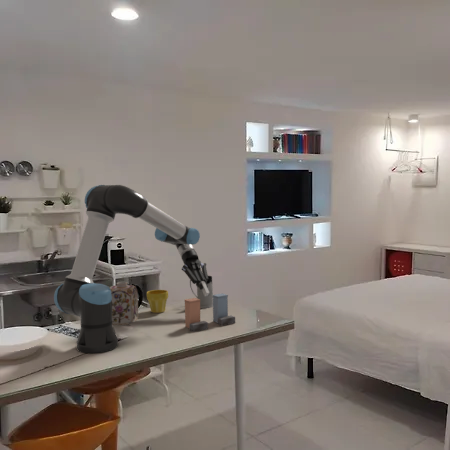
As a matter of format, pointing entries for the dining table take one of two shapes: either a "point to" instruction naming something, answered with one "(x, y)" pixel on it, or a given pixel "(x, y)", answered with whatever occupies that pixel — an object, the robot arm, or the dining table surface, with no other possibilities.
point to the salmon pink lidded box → (192, 311)
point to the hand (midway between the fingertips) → (207, 294)
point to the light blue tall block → (220, 306)
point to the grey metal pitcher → (205, 300)
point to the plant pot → (157, 300)
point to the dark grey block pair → (204, 325)
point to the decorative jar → (124, 304)
